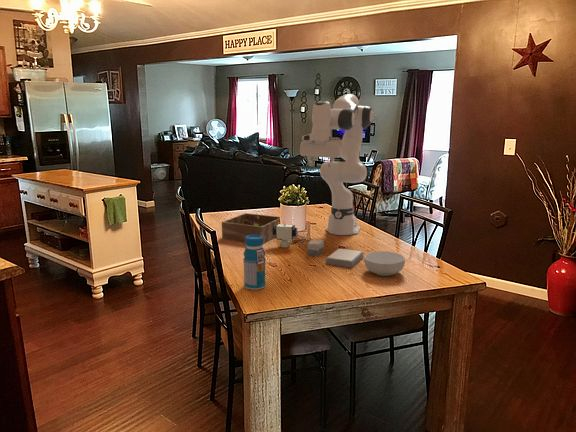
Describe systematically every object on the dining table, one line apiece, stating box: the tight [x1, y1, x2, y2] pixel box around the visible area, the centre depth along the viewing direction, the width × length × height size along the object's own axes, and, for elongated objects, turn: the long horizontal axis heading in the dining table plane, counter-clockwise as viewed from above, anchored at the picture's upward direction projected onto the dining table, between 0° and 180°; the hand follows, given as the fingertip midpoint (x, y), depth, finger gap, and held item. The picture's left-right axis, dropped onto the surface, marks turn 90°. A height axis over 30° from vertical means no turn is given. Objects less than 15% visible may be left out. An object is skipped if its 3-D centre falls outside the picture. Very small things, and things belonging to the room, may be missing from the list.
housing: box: [306, 238, 325, 257], centre depth 224 cm, size 8×5×6 cm, turn 154°
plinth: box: [325, 248, 364, 269], centre depth 214 cm, size 16×12×3 cm
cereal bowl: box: [363, 250, 406, 277], centre depth 198 cm, size 17×17×7 cm
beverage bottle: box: [242, 235, 266, 291], centre depth 181 cm, size 8×8×20 cm
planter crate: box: [221, 212, 281, 245], centre depth 254 cm, size 24×24×9 cm
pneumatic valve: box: [273, 222, 298, 249], centre depth 234 cm, size 6×12×12 cm, turn 79°
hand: (320, 166), depth 223 cm, fingers open, 8 cm apart
